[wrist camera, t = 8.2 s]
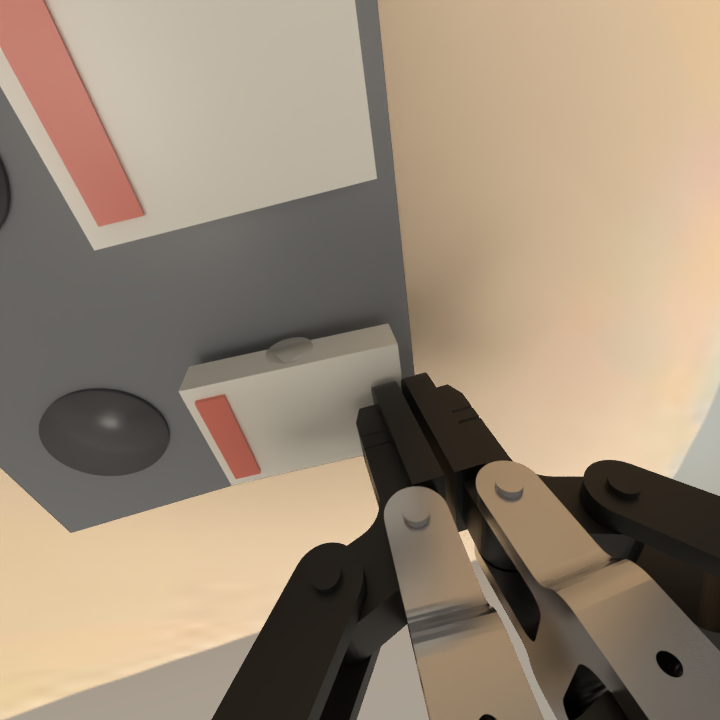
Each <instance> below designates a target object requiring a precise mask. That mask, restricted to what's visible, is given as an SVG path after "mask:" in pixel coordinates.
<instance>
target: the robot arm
mask: <svg viewBox="0 0 720 720" xmlns="http://www.w3.org/2000/svg"><path fill="white" fill-rule="evenodd" d="M401 388H402V392H401V390H400V388H399V386H398V384H397V382H396V381H392V382H389V383H385V384H381V385H377V386H374V387H371V391H372V397H373V402H374V405H371V406H367V407H364V408H360V409H359V412H358V416H357V420H356V426H357V430H358V434H359V438H360V443H361V447H362V451H363V456H364V460H365V463H366V466H367V470H368V473H369V476H370V480H371V483H372V486H373V490H374V493H375V496H376V500H377V503H378V506H379V512H378V515H377V518H376V520H375V522H374V523H373V525H372V526H371V527H370V528H369V529H368V531H367V532H365V533H364V534H363V535H362V536H360V537H359V538H357V539H356V540H355V541H353V542H352V543H350V544H349V545H347V546H346V545H344V544H340V543H325V544H321V545H319V546H317V547H315V548H313V549H312V550H310V551H309V552H308V553H307V554H305V556H304V557H303V558H302V559H301V560H300V562H299V563H298V565H297V567H296V569H295V570H294V572H293V574H292V576H291V578H290V579H289V581H288V583H287V585H286V587H285V588H284V590H283V592H282V594H281V596H280V597H279V599H278V601H277V603H276V605H275V606H274V608H273V610H272V612H271V614H270V615H269V617H268V619H267V621H266V623H265V624H264V626H263V628H262V630H261V632H260V633H259V635H258V637H257V639H256V641H255V642H254V644H253V646H252V648H251V650H250V651H249V653H248V655H247V657H246V659H245V660H244V662H243V664H242V666H241V668H240V670H239V671H238V673H237V675H236V676H235V678H234V680H233V682H232V684H231V685H230V687H229V689H228V691H227V693H226V695H225V696H224V698H223V700H222V702H221V703H220V705H219V707H218V709H217V711H216V713H215V714H214V716H213V718H212V720H357V716H358V713H359V711H360V708H361V704H362V702H363V698H364V695H365V693H366V690H367V687H368V684H369V681H370V678H371V675H372V672H373V669H374V666H375V663H376V660H377V657H378V654H379V651H380V648H381V646H382V645H383V644H384V643H385V642H387V641H388V640H389V639H390V638H391V637H392V636H393V635H395V634H396V633H397V632H398V631H399V630H401V629H402V628H403V627H404V626H405V625H406V624H408V629H409V633H410V638H411V642H412V647H413V651H414V655H415V660H416V664H417V668H418V672H419V677H420V682H421V686H422V690H423V694H424V699H425V703H426V708H427V712H428V717H429V720H544V718H543V716H542V714H541V711H540V709H539V706H538V704H537V702H536V699H535V697H534V695H533V692H532V690H531V688H530V685H529V683H528V680H527V678H526V676H525V673H524V671H523V668H522V666H521V664H520V662H519V660H518V657H517V654H516V652H515V650H514V647H513V645H512V642H511V640H510V638H509V635H508V633H507V631H506V629H505V626H504V624H503V622H502V620H501V618H500V617H499V615H498V613H497V611H496V610H495V609H494V608H493V607H491V606H490V605H489V604H488V602H487V600H486V598H485V596H484V594H483V592H482V589H481V587H480V584H479V582H478V579H477V577H476V575H475V572H474V569H473V567H472V564H471V562H470V559H469V557H468V555H467V552H466V550H465V547H464V545H463V542H462V540H461V537H460V535H459V532H460V531H463V530H466V529H468V531H469V533H470V535H471V537H472V539H473V541H474V543H475V556H476V559H477V561H478V563H479V565H480V567H481V568H482V570H483V572H484V574H485V576H486V577H487V579H488V581H489V583H490V585H491V586H492V588H493V590H494V592H495V593H496V595H497V597H498V599H499V601H500V603H501V604H502V606H503V608H504V610H505V611H506V613H507V615H508V617H509V619H510V620H511V622H512V624H513V626H514V628H515V629H516V631H517V633H518V635H519V636H520V638H521V640H522V642H523V644H524V646H525V648H526V651H527V653H528V657H529V661H530V664H531V667H532V670H533V673H534V675H535V678H536V680H537V682H538V684H539V686H540V688H541V690H542V692H543V694H544V696H545V698H546V700H547V701H548V703H549V705H550V707H551V709H552V711H553V713H554V714H555V716H556V718H557V720H720V496H717V495H715V494H712V493H709V492H706V491H704V490H701V489H698V488H695V487H693V486H689V485H687V484H684V483H682V482H679V481H676V480H673V479H670V478H668V477H665V476H662V475H659V474H657V473H654V472H651V471H648V470H646V469H643V468H640V467H637V466H635V465H632V464H629V463H626V462H622V461H616V460H603V461H598V462H595V463H593V464H591V465H590V466H589V467H588V468H587V469H586V471H585V473H584V477H551V476H542V475H538V474H535V473H534V472H533V471H532V470H531V469H529V468H528V467H526V466H524V465H522V464H520V463H517V462H513V461H512V460H511V458H510V457H509V456H508V455H507V453H506V452H505V451H504V449H503V448H502V447H501V445H500V444H499V443H498V441H497V440H496V438H495V437H494V436H493V434H492V433H491V432H490V430H489V429H488V428H487V426H486V425H485V424H484V422H483V421H482V419H481V418H479V415H478V414H477V413H476V411H475V410H474V409H473V408H472V407H471V405H470V403H469V402H468V401H467V399H466V398H465V396H464V395H463V394H462V393H461V392H459V391H458V390H456V389H454V388H453V387H451V386H449V385H448V384H447V385H444V386H440V387H436V386H435V385H434V383H433V382H432V380H431V379H430V377H429V376H428V374H427V373H422V374H418V375H414V376H410V377H407V378H403V379H401Z"/></svg>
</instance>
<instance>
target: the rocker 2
mask: <svg viewBox="0 0 720 720" xmlns="http://www.w3.org/2000/svg"><path fill="white" fill-rule="evenodd" d="M401 379H402V375H401V367H400V359H399V351H398V343H397V341H396V339H395V337H394V335H393V332H392V330H391V328H390V326H389V324H388V323H387V324H383V325H378V326H374V327H369V328H364V329H360V330H355V331H351V332H346V333H341V334H337V335H332V336H328V337H323V338H318V339H314V340H309V339H307V338H304V337H293V338H288V339H285V340H282V341H279V342H277V343H276V344H274V345H273V346H271V347H270V348H269V349H268V350H263V351H258V352H254V353H249V354H245V355H240V356H235V357H231V358H226V359H222V360H217V361H212V362H208V363H203V364H198V365H194V366H189V368H188V370H187V372H186V375H185V377H184V380H183V382H182V384H181V387H180V389H179V391H178V392H179V394H180V395H181V397H182V399H183V401H184V402H185V404H186V406H187V408H188V409H189V411H190V413H191V415H192V417H193V418H194V420H195V422H196V424H197V425H198V427H199V429H200V431H201V432H202V434H203V436H204V438H205V439H206V441H207V443H208V445H209V447H210V448H211V450H212V452H213V454H214V455H215V457H216V459H217V461H218V462H219V464H220V466H221V468H222V469H223V471H224V473H225V475H226V477H227V478H228V480H229V482H230V484H231V485H235V484H240V483H244V482H249V481H253V480H257V479H262V478H266V477H270V476H275V475H279V474H284V473H288V472H292V471H297V470H301V469H306V468H310V467H314V466H319V465H323V464H328V463H332V462H336V461H341V460H345V459H349V458H354V457H358V456H363V451H362V447H361V443H360V438H359V434H358V430H357V426H356V420H357V416H358V412H359V409H360V408H364V407H367V406H371V405H374V402H373V397H372V391H371V387H374V386H377V385H381V384H385V383H389V382H392V381H396V382H397V384H398V386H399V388H400V390H401V392H402V388H401Z"/></svg>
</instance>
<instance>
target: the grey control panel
mask: <svg viewBox="0 0 720 720" xmlns="http://www.w3.org/2000/svg"><path fill="white" fill-rule="evenodd" d="M355 5H356V13H357V21H358V29H359V37H360V45H361V53H362V61H363V69H364V77H365V86H366V94H367V102H368V110H369V118H370V126H371V134H372V142H373V150H374V158H375V166H376V174H377V179H374V180H370V181H366V182H362V183H358V184H354V185H350V186H346V187H342V188H338V189H335V190H331V191H327V192H323V193H319V194H315V195H311V196H307V197H303V198H299V199H295V200H291V201H287V202H283V203H280V204H276V205H272V206H268V207H264V208H260V209H256V210H252V211H248V212H244V213H240V214H236V215H232V216H228V217H225V218H221V219H217V220H213V221H209V222H205V223H201V224H197V225H193V226H189V227H185V228H181V229H177V230H173V231H170V232H166V233H162V234H158V235H154V236H150V237H146V238H142V239H138V240H134V241H130V242H126V243H122V244H118V245H115V246H111V247H107V248H103V249H99V250H95V251H94V249H93V247H92V246H91V244H90V242H89V240H88V239H87V237H86V235H85V233H84V232H83V230H82V228H81V226H80V225H79V223H78V221H77V219H76V218H75V216H74V214H73V212H72V211H71V209H70V207H69V205H68V204H67V202H66V200H65V198H64V197H63V195H62V193H61V191H60V190H59V188H58V186H57V184H56V183H55V181H54V179H53V177H52V176H51V174H50V172H49V170H48V169H47V167H46V165H45V164H44V162H43V160H42V158H41V157H40V155H39V153H38V151H37V150H36V148H35V146H34V144H33V143H32V141H31V139H30V137H29V136H28V134H27V132H26V130H25V129H24V127H23V125H22V123H21V122H20V120H19V118H18V116H17V115H16V113H15V111H14V109H13V108H12V106H11V104H10V102H9V101H8V99H7V97H6V95H5V94H4V92H3V90H2V88H1V87H0V468H1V469H2V470H4V471H5V472H6V473H7V474H8V475H9V476H10V477H11V478H12V479H13V480H14V481H15V482H16V483H18V484H19V485H20V486H21V487H22V488H23V489H24V490H25V491H26V492H27V493H28V494H29V495H30V496H32V497H33V498H34V499H35V500H36V501H37V502H38V503H39V504H40V505H41V506H42V507H43V508H44V509H46V510H47V511H48V512H49V513H50V514H51V515H52V516H53V517H54V518H55V519H56V520H57V521H58V522H60V523H61V524H62V525H63V526H64V527H65V528H66V529H67V530H68V531H69V532H70V533H72V532H75V531H79V530H82V529H86V528H89V527H92V526H96V525H99V524H103V523H106V522H109V521H113V520H116V519H120V518H123V517H126V516H130V515H133V514H137V513H140V512H144V511H147V510H150V509H154V508H157V507H161V506H164V505H167V504H171V503H174V502H178V501H181V500H184V499H188V498H191V497H195V496H198V495H201V494H205V493H208V492H212V491H215V490H218V489H222V488H225V487H229V486H232V485H231V484H230V482H229V480H228V478H227V477H226V475H225V473H224V471H223V469H222V468H221V466H220V464H219V462H218V461H217V459H216V457H215V455H214V454H213V452H212V450H211V448H210V447H209V445H208V443H207V441H206V439H205V438H204V436H203V434H202V432H201V431H200V429H199V427H198V425H197V424H196V422H195V420H194V418H193V417H192V415H191V413H190V411H189V409H188V408H187V406H186V404H185V402H184V401H183V399H182V397H181V395H180V394H179V392H178V391H179V389H180V387H181V384H182V382H183V380H184V377H185V375H186V372H187V370H188V368H189V366H194V365H198V364H203V363H208V362H212V361H217V360H222V359H226V358H231V357H235V356H240V355H245V354H249V353H254V352H258V351H263V350H268V349H269V348H270V347H271V346H273V345H274V344H276V343H277V342H279V341H282V340H285V339H288V338H293V337H304V338H307V339H309V340H314V339H318V338H323V337H328V336H332V335H337V334H341V333H346V332H351V331H355V330H360V329H364V328H369V327H374V326H378V325H383V324H387V323H388V324H389V326H390V328H391V330H392V332H393V335H394V337H395V339H396V341H397V343H398V351H399V359H400V367H401V375H402V379H403V378H407V377H410V376H414V365H413V355H412V345H411V335H410V325H409V315H408V305H407V295H406V285H405V275H404V265H403V255H402V245H401V235H400V225H399V215H398V204H397V194H396V184H395V174H394V164H393V154H392V144H391V134H390V124H389V114H388V104H387V94H386V84H385V74H384V64H383V54H382V44H381V34H380V23H379V13H378V3H377V0H355Z"/></svg>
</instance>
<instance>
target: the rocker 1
mask: <svg viewBox="0 0 720 720" xmlns="http://www.w3.org/2000/svg"><path fill="white" fill-rule="evenodd" d="M0 87H1V88H2V90H3V92H4V94H5V95H6V97H7V99H8V101H9V102H10V104H11V106H12V108H13V109H14V111H15V113H16V115H17V116H18V118H19V120H20V122H21V123H22V125H23V127H24V129H25V130H26V132H27V134H28V136H29V137H30V139H31V141H32V143H33V144H34V146H35V148H36V150H37V151H38V153H39V155H40V157H41V158H42V160H43V162H44V164H45V165H46V167H47V169H48V170H49V172H50V174H51V176H52V177H53V179H54V181H55V183H56V184H57V186H58V188H59V190H60V191H61V193H62V195H63V197H64V198H65V200H66V202H67V204H68V205H69V207H70V209H71V211H72V212H73V214H74V216H75V218H76V219H77V221H78V223H79V225H80V226H81V228H82V230H83V232H84V233H85V235H86V237H87V239H88V240H89V242H90V244H91V246H92V247H93V249H94V251H95V250H99V249H103V248H107V247H111V246H115V245H118V244H122V243H126V242H130V241H134V240H138V239H142V238H146V237H150V236H154V235H158V234H162V233H166V232H170V231H173V230H177V229H181V228H185V227H189V226H193V225H197V224H201V223H205V222H209V221H213V220H217V219H221V218H225V217H228V216H232V215H236V214H240V213H244V212H248V211H252V210H256V209H260V208H264V207H268V206H272V205H276V204H280V203H283V202H287V201H291V200H295V199H299V198H303V197H307V196H311V195H315V194H319V193H323V192H327V191H331V190H335V189H338V188H342V187H346V186H350V185H354V184H358V183H362V182H366V181H370V180H374V179H377V174H376V166H375V158H374V150H373V142H372V134H371V126H370V118H369V110H368V102H367V94H366V86H365V77H364V69H363V61H362V53H361V45H360V37H359V29H358V21H357V13H356V5H355V0H0Z"/></svg>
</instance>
